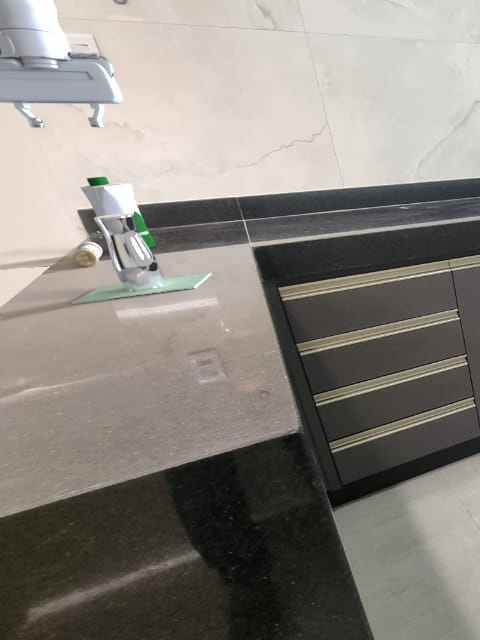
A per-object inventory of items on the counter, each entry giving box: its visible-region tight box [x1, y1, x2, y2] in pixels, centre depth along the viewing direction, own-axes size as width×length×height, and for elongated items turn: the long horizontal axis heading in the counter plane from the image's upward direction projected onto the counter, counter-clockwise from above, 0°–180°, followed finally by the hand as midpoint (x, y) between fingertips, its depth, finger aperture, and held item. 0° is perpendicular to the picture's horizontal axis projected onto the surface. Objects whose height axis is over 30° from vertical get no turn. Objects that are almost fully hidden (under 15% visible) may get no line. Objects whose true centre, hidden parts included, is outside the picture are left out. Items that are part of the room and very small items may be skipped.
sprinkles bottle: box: [72, 241, 103, 268], centre depth 139 cm, size 5×5×14 cm
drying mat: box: [72, 272, 212, 305], centre depth 113 cm, size 20×13×1 cm, turn 114°
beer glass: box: [93, 213, 165, 291], centre depth 110 cm, size 7×7×15 cm
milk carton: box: [79, 176, 157, 249], centre depth 150 cm, size 9×9×20 cm
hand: (68, 127), depth 109 cm, fingers open, 8 cm apart
